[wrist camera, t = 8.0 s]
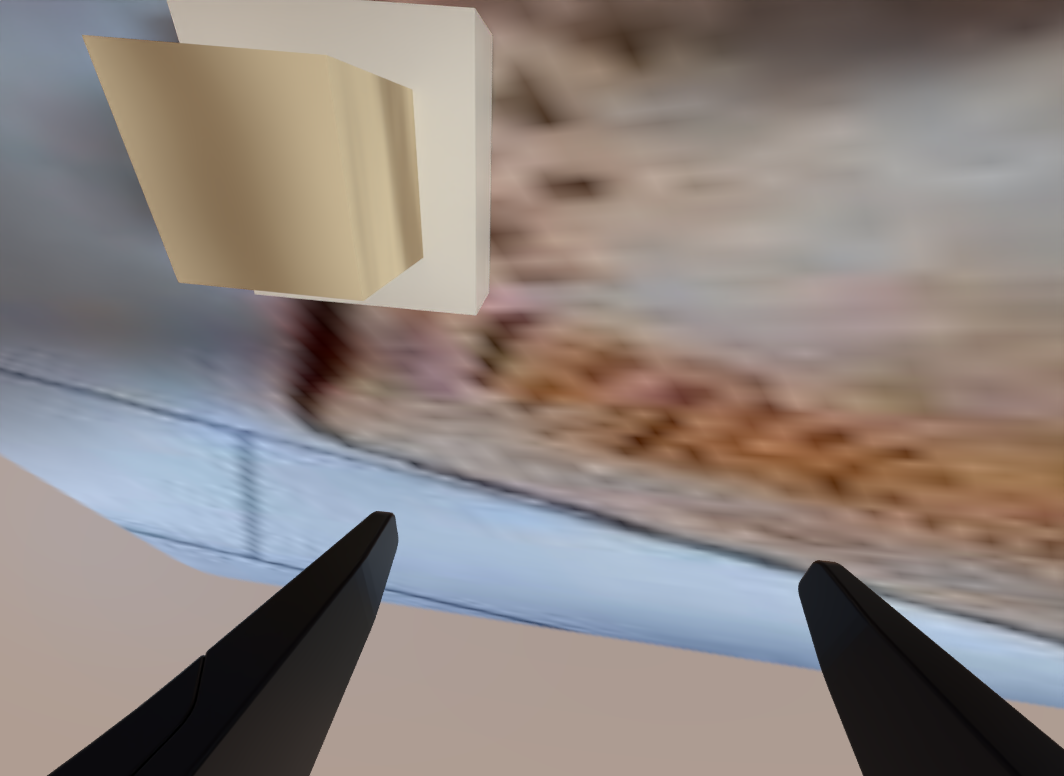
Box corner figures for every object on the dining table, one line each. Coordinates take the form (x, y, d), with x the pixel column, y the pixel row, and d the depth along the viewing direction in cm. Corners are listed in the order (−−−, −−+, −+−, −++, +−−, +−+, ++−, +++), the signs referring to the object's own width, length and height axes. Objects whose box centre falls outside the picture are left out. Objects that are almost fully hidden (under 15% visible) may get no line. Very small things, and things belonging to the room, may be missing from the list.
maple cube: (412, 89, 12) (326, 54, 8) (423, 257, 15) (363, 300, 10) (253, 76, 12) (81, 34, 8) (291, 244, 15) (178, 282, 10)
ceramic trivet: (492, 35, 14) (474, 7, 11) (489, 292, 18) (476, 315, 16) (237, 17, 14) (162, -14, 11) (298, 274, 18) (255, 294, 16)
